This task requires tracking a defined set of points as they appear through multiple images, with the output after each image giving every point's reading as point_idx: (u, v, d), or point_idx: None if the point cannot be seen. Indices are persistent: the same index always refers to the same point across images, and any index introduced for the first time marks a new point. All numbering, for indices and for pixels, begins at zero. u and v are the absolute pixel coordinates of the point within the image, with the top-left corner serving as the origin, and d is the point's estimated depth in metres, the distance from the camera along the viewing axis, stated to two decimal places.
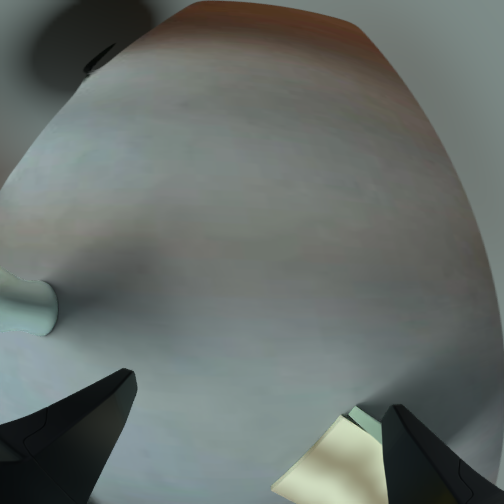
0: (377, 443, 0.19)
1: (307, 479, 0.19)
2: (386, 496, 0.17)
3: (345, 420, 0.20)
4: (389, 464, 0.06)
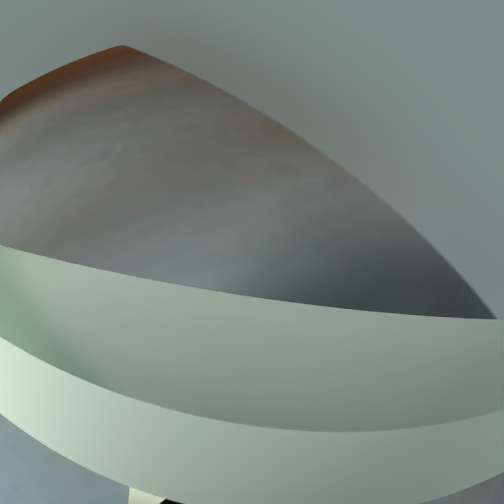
0: None
1: None
2: None
3: None
4: None
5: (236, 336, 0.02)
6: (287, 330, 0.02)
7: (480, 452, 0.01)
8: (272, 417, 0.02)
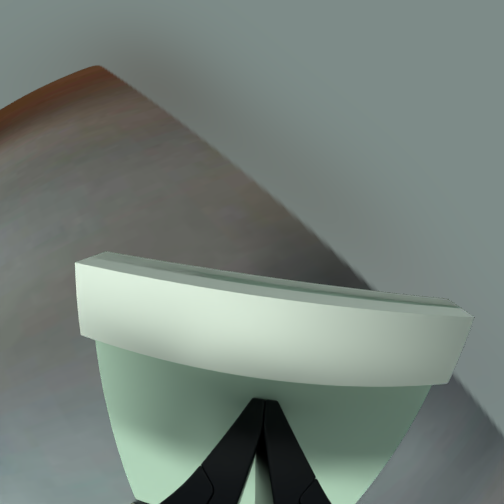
0: None
1: None
2: None
3: None
4: (256, 464, 0.07)
5: (260, 279, 0.08)
6: (273, 280, 0.08)
7: (352, 302, 0.07)
8: (272, 287, 0.08)
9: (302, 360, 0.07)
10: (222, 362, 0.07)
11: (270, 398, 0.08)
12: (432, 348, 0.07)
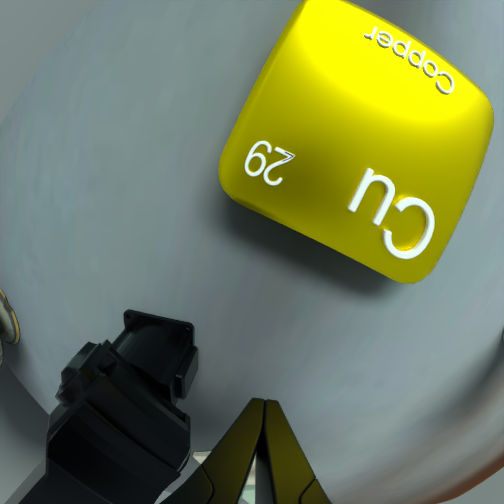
0: None
1: None
2: None
3: None
4: (256, 464, 0.07)
5: None
6: None
7: None
8: None
9: None
10: None
11: None
12: None
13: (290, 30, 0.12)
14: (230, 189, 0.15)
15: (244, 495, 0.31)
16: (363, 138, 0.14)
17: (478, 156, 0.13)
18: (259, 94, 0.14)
